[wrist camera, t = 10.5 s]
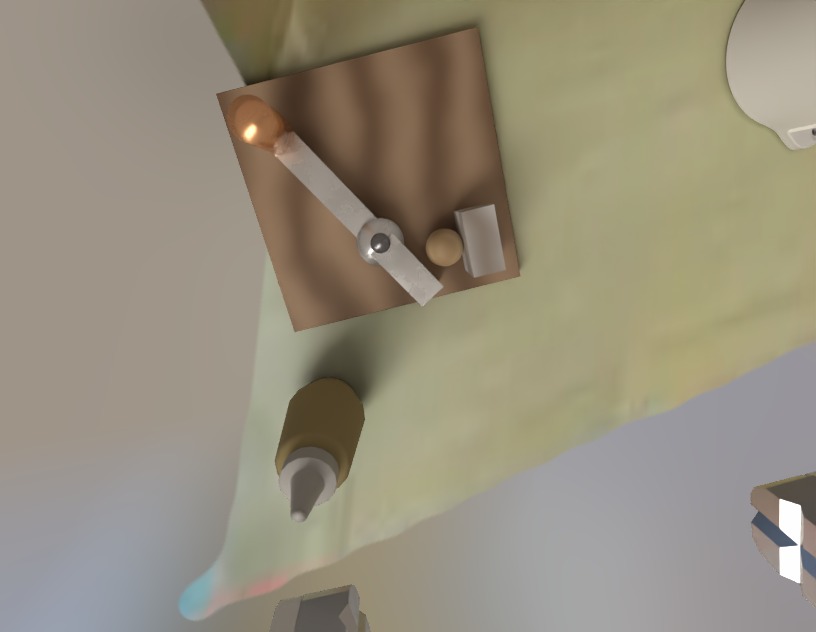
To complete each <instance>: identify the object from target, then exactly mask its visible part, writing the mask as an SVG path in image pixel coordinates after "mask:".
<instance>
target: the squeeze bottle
mask: <svg viewBox="0 0 816 632" xmlns="http://www.w3.org/2000/svg"><path fill="white" fill-rule="evenodd" d="M364 421H365V417H364V410H363V405H362V403H361V402H360V400H359V399H358V397H357V395H356V394H355V392H354V391H353V390H352V388H351V387H350V386H349V385H348V384H346V383H345V382H344V381H342V380H340V379H336V378H332V377H331V378H322V379H319V380H317V381H315V382H313V383H311V384H309V385H307V386H305V387H303V388H301V389H299V390H298V391H297V393H296V394H295V395H294V396H293V398H292V399H291V400H290V402H289V406H288V410H287V414H286V418H285V422H284V426H283V430H282V434H281V438H280V442H279V446H278V450H277V454H276V458H275V465H276V469H277V474H278V475H279V480H278V481H279V486H280V490H281V492H282V493H283V494H284V496H285V497H286V498H287V499H288V500H290V501H291V518H292V520H294V521H295V522H303V521H305V520H306V518H307V517H308V515H309V513H310V511H311V510H312V508H313V506H317V505H320V504H322V503H324V502H326V501H328V500H329V499H330V497H331V496H332V495H333V494H334V493H335V490H336V488H338V487H339V486H340V485H341V484H342V483H343V482H344V481H345V480H346V479H347V477H348V474H349V471H350V468H351V464H352V461H353V458H354V454H355V451H356V448H357V444H358V441H359V437H360V434H361V431H362V427H363V424H364Z"/></svg>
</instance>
